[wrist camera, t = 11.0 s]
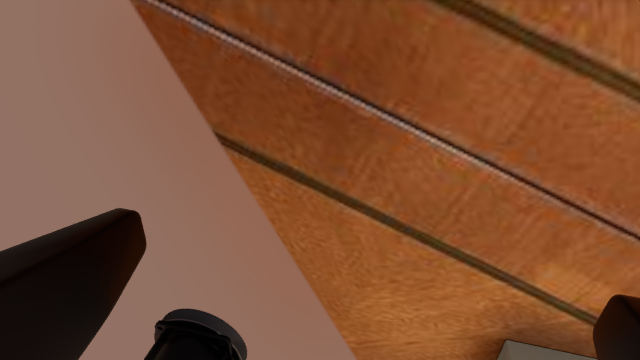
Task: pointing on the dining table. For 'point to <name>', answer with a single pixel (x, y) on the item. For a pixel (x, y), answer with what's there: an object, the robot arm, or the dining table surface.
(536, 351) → the square frame
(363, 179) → the dining table surface
